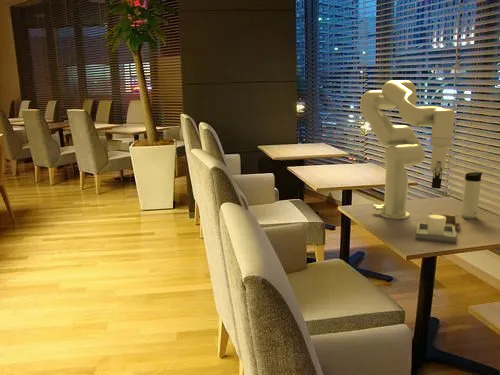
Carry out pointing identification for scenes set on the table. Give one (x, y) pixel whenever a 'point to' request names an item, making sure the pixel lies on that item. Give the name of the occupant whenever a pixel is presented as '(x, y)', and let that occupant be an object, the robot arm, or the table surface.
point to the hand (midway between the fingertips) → (436, 185)
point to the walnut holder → (451, 219)
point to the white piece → (436, 224)
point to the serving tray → (447, 236)
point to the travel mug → (471, 195)
